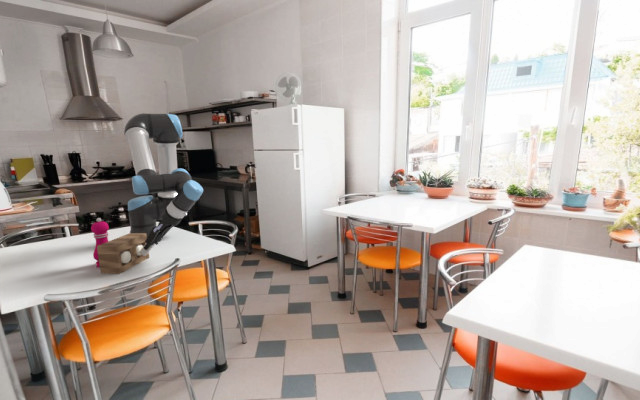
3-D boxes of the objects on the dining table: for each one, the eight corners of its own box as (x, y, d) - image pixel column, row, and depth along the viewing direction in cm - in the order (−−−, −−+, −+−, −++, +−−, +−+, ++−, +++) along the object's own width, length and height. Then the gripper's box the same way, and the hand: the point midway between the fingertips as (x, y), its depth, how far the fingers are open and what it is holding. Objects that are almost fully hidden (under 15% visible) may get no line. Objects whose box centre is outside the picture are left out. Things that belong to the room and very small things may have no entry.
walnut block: (132, 257, 143) (129, 233, 141) (149, 257, 142) (146, 233, 140) (100, 273, 125) (96, 246, 123) (119, 273, 124) (116, 246, 122)
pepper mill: (119, 261, 138) (113, 215, 134) (107, 268, 131) (100, 219, 127) (104, 261, 139) (97, 216, 135) (90, 267, 131) (83, 220, 128)
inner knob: (126, 253, 140) (125, 243, 140) (144, 253, 139) (143, 243, 139) (118, 256, 136) (117, 246, 135) (137, 257, 135) (135, 246, 134)
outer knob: (112, 260, 131) (111, 249, 131) (131, 260, 130) (130, 249, 130) (104, 264, 127) (102, 253, 126) (123, 264, 126) (122, 253, 125)
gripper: (172, 222, 126) (139, 264, 130) (189, 216, 139) (158, 254, 143) (158, 210, 126) (125, 252, 130) (176, 204, 138) (145, 243, 143)
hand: (142, 253), depth 136 cm, fingers closed
